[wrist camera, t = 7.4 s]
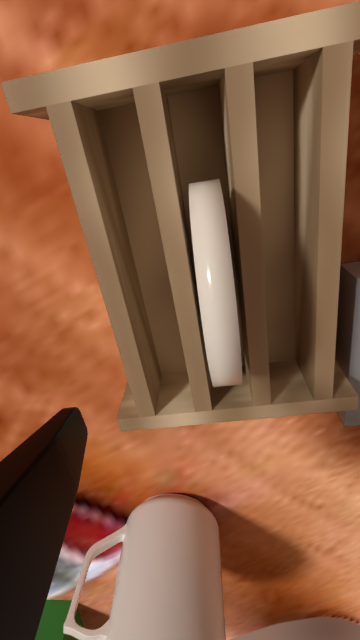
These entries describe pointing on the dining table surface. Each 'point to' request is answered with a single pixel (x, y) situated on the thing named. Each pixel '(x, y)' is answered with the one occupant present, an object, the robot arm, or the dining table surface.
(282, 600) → the dining table surface
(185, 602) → the mug
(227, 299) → the plate
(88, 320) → the dining table surface
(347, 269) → the stand
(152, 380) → the rack
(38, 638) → the green cereal box
